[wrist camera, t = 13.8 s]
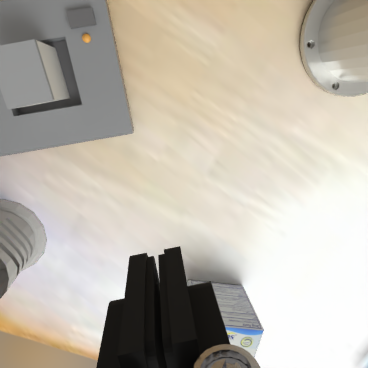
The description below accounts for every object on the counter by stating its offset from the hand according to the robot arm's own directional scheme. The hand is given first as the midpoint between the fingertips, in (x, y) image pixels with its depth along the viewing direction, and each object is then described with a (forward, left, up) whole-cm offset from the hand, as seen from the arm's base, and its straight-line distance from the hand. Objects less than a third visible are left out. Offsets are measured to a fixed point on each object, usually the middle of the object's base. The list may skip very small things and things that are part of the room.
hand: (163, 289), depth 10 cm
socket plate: (+10, -9, -27) cm, 30 cm away
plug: (+10, -9, -26) cm, 30 cm away
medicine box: (-4, +22, -27) cm, 35 cm away
